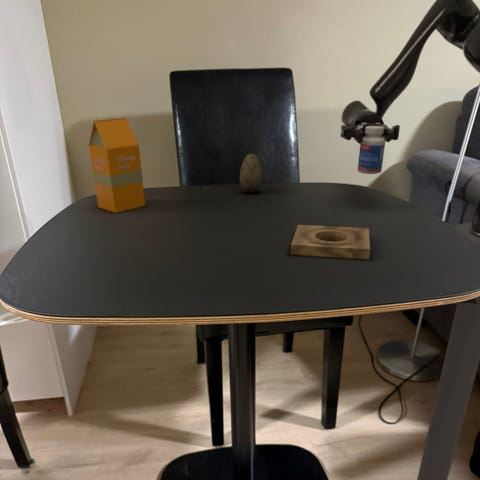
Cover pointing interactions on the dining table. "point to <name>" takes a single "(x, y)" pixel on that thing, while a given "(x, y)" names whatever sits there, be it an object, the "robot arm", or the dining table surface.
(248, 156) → the decorative egg
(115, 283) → the dining table surface
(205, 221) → the dining table surface
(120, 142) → the orange juice
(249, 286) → the dining table surface
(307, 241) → the pad
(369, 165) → the pill bottle
